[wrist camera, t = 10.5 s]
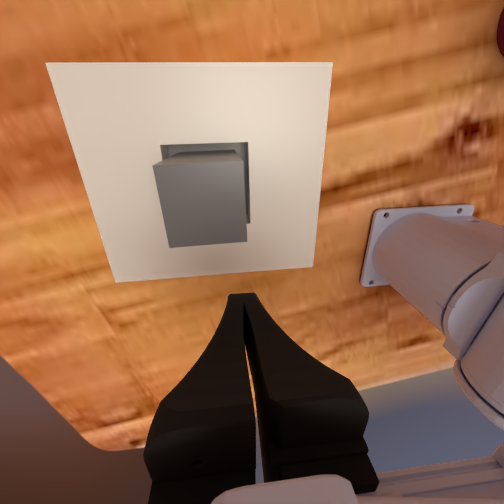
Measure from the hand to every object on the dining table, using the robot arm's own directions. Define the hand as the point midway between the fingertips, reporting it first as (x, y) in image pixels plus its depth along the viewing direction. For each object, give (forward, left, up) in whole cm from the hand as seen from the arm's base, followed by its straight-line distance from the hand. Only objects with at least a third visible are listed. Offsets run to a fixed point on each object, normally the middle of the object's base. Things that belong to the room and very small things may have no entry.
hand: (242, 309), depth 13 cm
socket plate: (+2, -5, -10) cm, 11 cm away
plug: (+2, -5, -10) cm, 11 cm away
